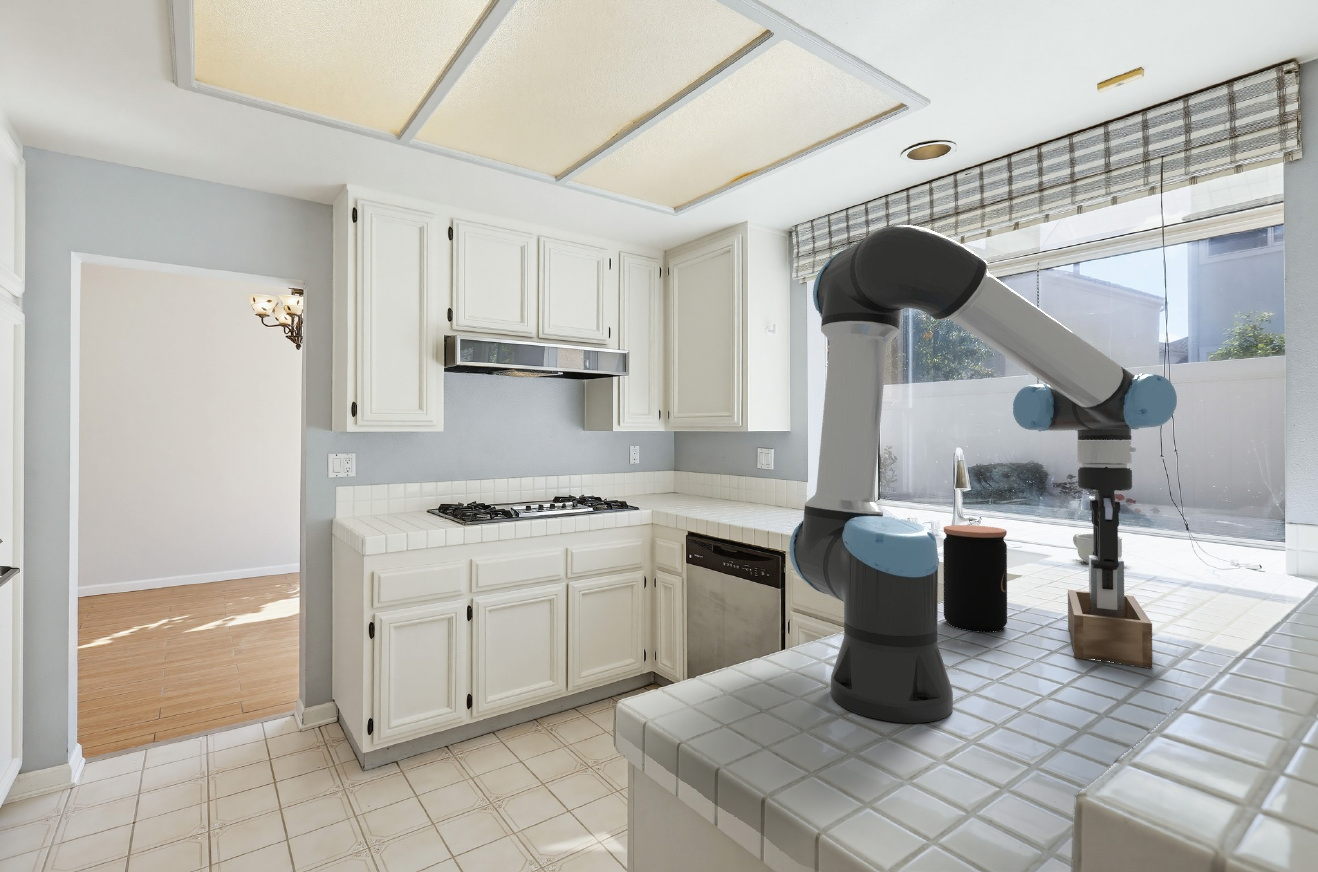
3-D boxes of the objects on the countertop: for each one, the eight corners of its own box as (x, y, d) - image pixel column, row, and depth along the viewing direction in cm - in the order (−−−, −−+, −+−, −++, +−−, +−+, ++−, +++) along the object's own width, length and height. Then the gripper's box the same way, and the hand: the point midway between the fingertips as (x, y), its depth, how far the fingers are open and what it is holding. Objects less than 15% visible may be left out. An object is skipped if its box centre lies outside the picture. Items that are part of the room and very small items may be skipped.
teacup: (1131, 567, 179) (1131, 538, 179) (1091, 567, 179) (1091, 538, 179) (1098, 558, 193) (1097, 531, 193) (1061, 558, 193) (1061, 531, 193)
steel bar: (1091, 619, 108) (1090, 559, 108) (1089, 613, 112) (1088, 555, 112) (1124, 623, 106) (1123, 561, 106) (1121, 616, 110) (1120, 557, 110)
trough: (1074, 657, 102) (1074, 614, 103) (1067, 626, 120) (1067, 589, 120) (1152, 668, 98) (1152, 623, 98) (1133, 634, 115) (1133, 595, 115)
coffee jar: (1015, 635, 115) (1015, 533, 115) (951, 631, 117) (950, 531, 117) (996, 619, 125) (996, 525, 125) (938, 616, 127) (937, 524, 128)
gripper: (1139, 468, 100) (1140, 620, 100) (1125, 465, 115) (1126, 597, 115) (1081, 467, 104) (1082, 613, 103) (1074, 464, 119) (1075, 592, 119)
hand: (1105, 604), depth 109 cm, fingers closed on steel bar, 4 cm apart
